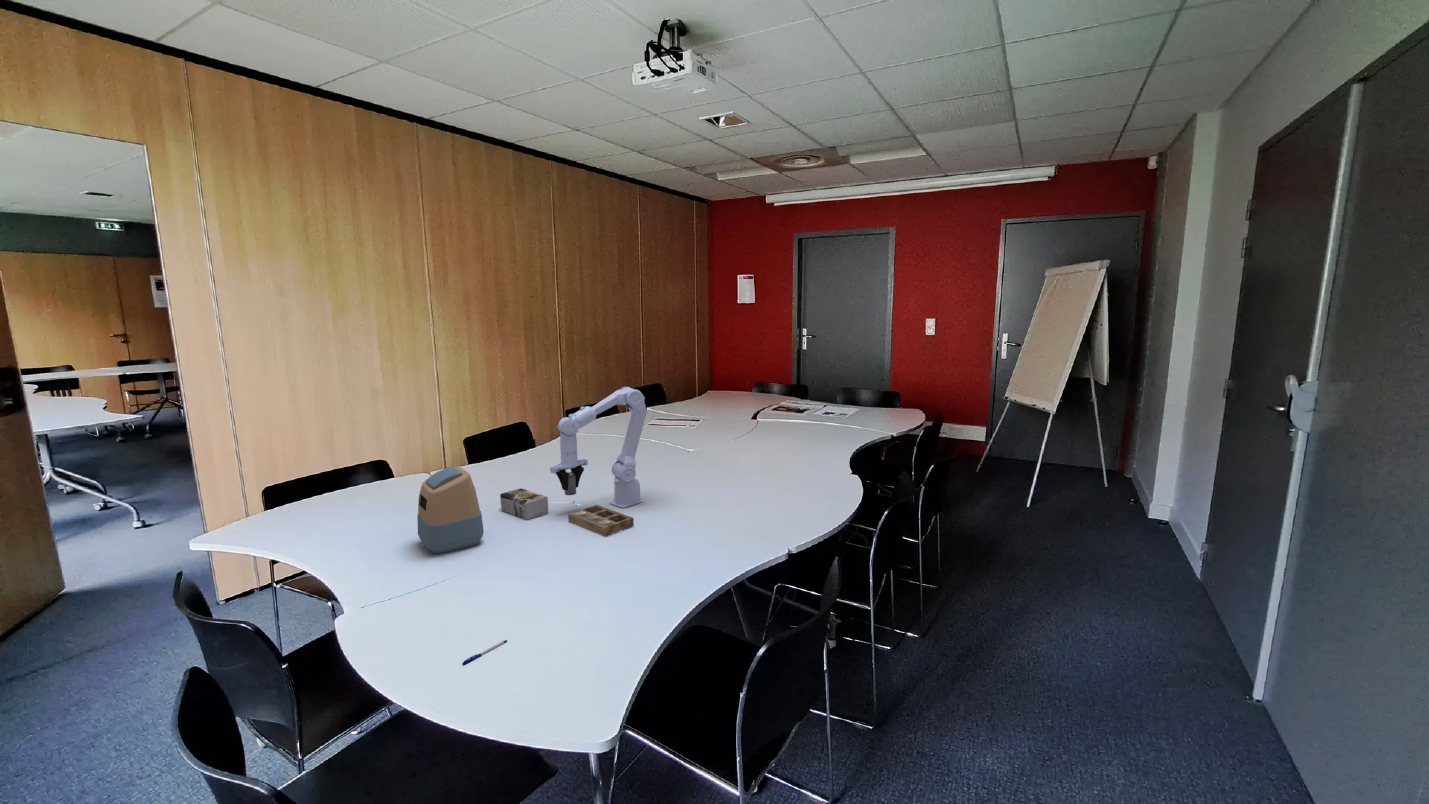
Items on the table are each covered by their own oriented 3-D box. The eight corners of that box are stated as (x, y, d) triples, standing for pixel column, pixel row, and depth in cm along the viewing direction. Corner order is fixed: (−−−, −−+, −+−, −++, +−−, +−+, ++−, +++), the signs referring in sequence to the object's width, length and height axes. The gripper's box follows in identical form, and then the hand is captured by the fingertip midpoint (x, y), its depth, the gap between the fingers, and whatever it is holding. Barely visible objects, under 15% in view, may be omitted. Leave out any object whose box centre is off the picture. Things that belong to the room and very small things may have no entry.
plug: (571, 491, 208) (571, 470, 207) (578, 493, 205) (577, 472, 204) (562, 493, 205) (561, 473, 204) (569, 496, 202) (568, 475, 201)
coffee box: (526, 502, 197) (499, 493, 207) (527, 520, 198) (500, 510, 208) (548, 495, 204) (521, 487, 214) (548, 513, 205) (522, 503, 215)
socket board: (596, 512, 206) (596, 503, 206) (633, 526, 193) (633, 516, 193) (568, 521, 197) (568, 512, 197) (605, 536, 184) (605, 526, 184)
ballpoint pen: (464, 667, 117) (464, 662, 117) (461, 665, 118) (461, 661, 117) (507, 642, 126) (507, 638, 126) (505, 641, 126) (504, 637, 126)
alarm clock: (415, 541, 180) (410, 470, 176) (470, 529, 190) (466, 461, 187) (429, 559, 167) (423, 483, 163) (488, 544, 178) (483, 472, 174)
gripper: (579, 446, 211) (580, 481, 213) (544, 453, 200) (546, 490, 202) (590, 449, 206) (592, 485, 208) (556, 456, 195) (558, 494, 197)
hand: (570, 488), depth 205 cm, fingers closed on plug, 4 cm apart
